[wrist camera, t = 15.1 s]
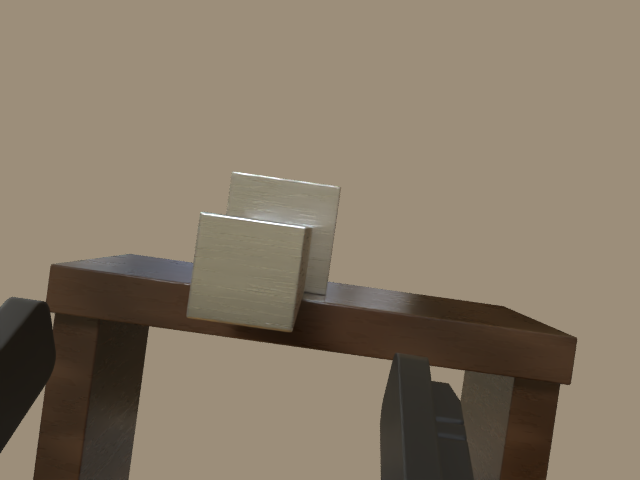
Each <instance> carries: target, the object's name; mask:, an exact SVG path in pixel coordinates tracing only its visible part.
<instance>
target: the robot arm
mask: <svg viewBox="0 0 640 480" xmlns="http://www.w3.org/2000/svg"><path fill="white" fill-rule="evenodd" d="M55 360H56V349H55V342H54V335H53V329H52V322H51V315H50V309H49V306H48V304H47V303H46V302H44V301H37V300H30V299H23V298H16V297H11V298H9V299H7V300H6V301H5V302H4V303H3V305H2V306H1V307H0V453H1V451H2V450H3V448H4V447H5V445H6V444H7V442H8V441H9V439H10V438H11V436H12V435H13V433H14V432H15V430H16V428H17V427H18V426H19V424H20V423H21V421H22V419H23V418H24V416H25V415H26V413H27V412H28V410H29V409H30V407H31V406H32V404H33V403H34V401H35V400H36V398H37V397H38V395H39V394H40V392H41V391H42V389H43V388H44V386H45V385H46V383H47V382H48V380H49V378H50V376H51V374H52V372H53V369H54V365H55ZM380 444H381V445H380V449H381V450H380V451H381V480H474V476H473V470H472V464H471V459H470V453H469V447H468V442H467V435H466V430H465V425H464V418H463V412H462V407H461V402H460V400H459V399H458V397H457V396H456V394H455V393H454V391H453V390H452V388H451V387H450V385H449V384H448V383H442V382H435V381H431V374H430V366H429V360H428V358H427V357H422V356H415V355H408V354H401V353H395V355H394V358H393V362H392V366H391V370H390V374H389V378H388V382H387V386H386V390H385V394H384V398H383V403H382V410H381V420H380Z"/></svg>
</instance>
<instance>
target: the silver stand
mask: <svg viewBox="0 0 640 480" xmlns="http://www.w3.org/2000/svg"><path fill="white" fill-rule="evenodd" d="M340 190H341V187H339V186H332V185H325V184H317V183H309V182H303V181H296V180H288V179H281V178H274V177H267V176H259V175H253V174H245V173H239V172H232V176H231V184H230V191H229V199H228V206H227V213H226V215H222V214H215V213H207V212H201V213H200V219H199V226H198V233H197V240H196V248H195V255H194V263H193V270H192V277H191V285H190V292H189V299H188V307H187V314H186V316H187V318H191V319H198V320H205V321H212V322H219V323H227V324H234V325H241V326H248V327H255V328H262V329H269V330H276V331H284V332H292V330H293V327H294V324H295V320H296V317H297V314H298V310H299V307H300V304H301V300H302V297H303V294H304V293H312V294H319V295H326V290H327V283H328V276H329V268H330V262H331V255H332V248H333V240H334V233H335V226H336V219H337V212H338V204H339V198H340Z"/></svg>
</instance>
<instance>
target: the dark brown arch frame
mask: <svg viewBox="0 0 640 480" xmlns="http://www.w3.org/2000/svg"><path fill="white" fill-rule="evenodd" d="M192 270H193V263H190V262H184V261H176V260H169V259H162V258H154V257H148V256H141V255H133V254H126V255H119V256H111V257H103V258H96V259H89V260H80V261H73V262H66V263H58V264H51V268H50V276H49V283H48V291H47V298H46V303H47V304H48V306H49V309H50V312H52V313H55V318H54V325H53V335H54V342H55V349H56V360H55V365H54V369H53V372H52V374H51V376H50V378H49V380H48V382H47V383H46V386H45V394H44V402H43V409H42V417H41V424H40V433H39V440H38V448H37V455H36V463H35V470H34V477H33V480H128V478H129V470H130V464H131V456H132V449H133V441H134V434H135V426H136V419H137V411H138V404H139V397H140V389H141V382H142V375H143V367H144V359H145V352H146V345H147V337H148V330H149V326H152V327H159V328H167V329H173V330H180V331H187V332H195V333H202V334H209V335H217V336H223V337H230V338H238V339H244V340H252V341H259V342H266V343H273V344H280V345H288V346H294V347H301V348H309V349H316V350H323V351H330V352H337V353H344V354H351V355H359V356H366V357H373V358H380V359H387V360H393V358H394V355H395V353H401V354H408V355H415V356H422V357H427V358H428V360H429V365H430V366H437V367H444V368H451V369H458V370H465V374H464V382H463V389H462V395H461V407H462V412H463V418H464V425H465V430H466V435H467V442H468V447H469V453H470V459H471V464H472V470H473V476H474V480H546V476H547V470H548V462H549V456H550V449H551V442H552V436H553V429H554V422H555V415H556V409H557V402H558V395H559V388H560V384H566V385H570V384H571V378H572V371H573V365H574V357H575V351H576V344H577V338H576V337H574V336H571V335H569V334H566V333H564V332H562V331H560V330H557V329H555V328H553V327H550V326H548V325H546V324H543V323H541V322H538V321H536V320H534V319H532V318H529V317H527V316H524V315H522V314H520V313H518V312H515V311H513V310H511V309H508V308H506V307H504V306H498V305H491V304H483V303H476V302H469V301H462V300H454V299H448V298H441V297H433V296H426V295H419V294H412V293H404V292H398V291H390V290H383V289H376V288H369V287H362V286H355V285H348V284H341V283H334V282H328V283H327V290H326V295H319V294H312V293H304V294H303V297H302V300H301V304H300V307H299V310H298V314H297V317H296V320H295V324H294V327H293V330H292V332H284V331H276V330H269V329H262V328H255V327H248V326H241V325H234V324H227V323H219V322H212V321H205V320H198V319H191V318H187V316H186V314H187V307H188V299H189V292H190V285H191V277H192Z"/></svg>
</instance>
